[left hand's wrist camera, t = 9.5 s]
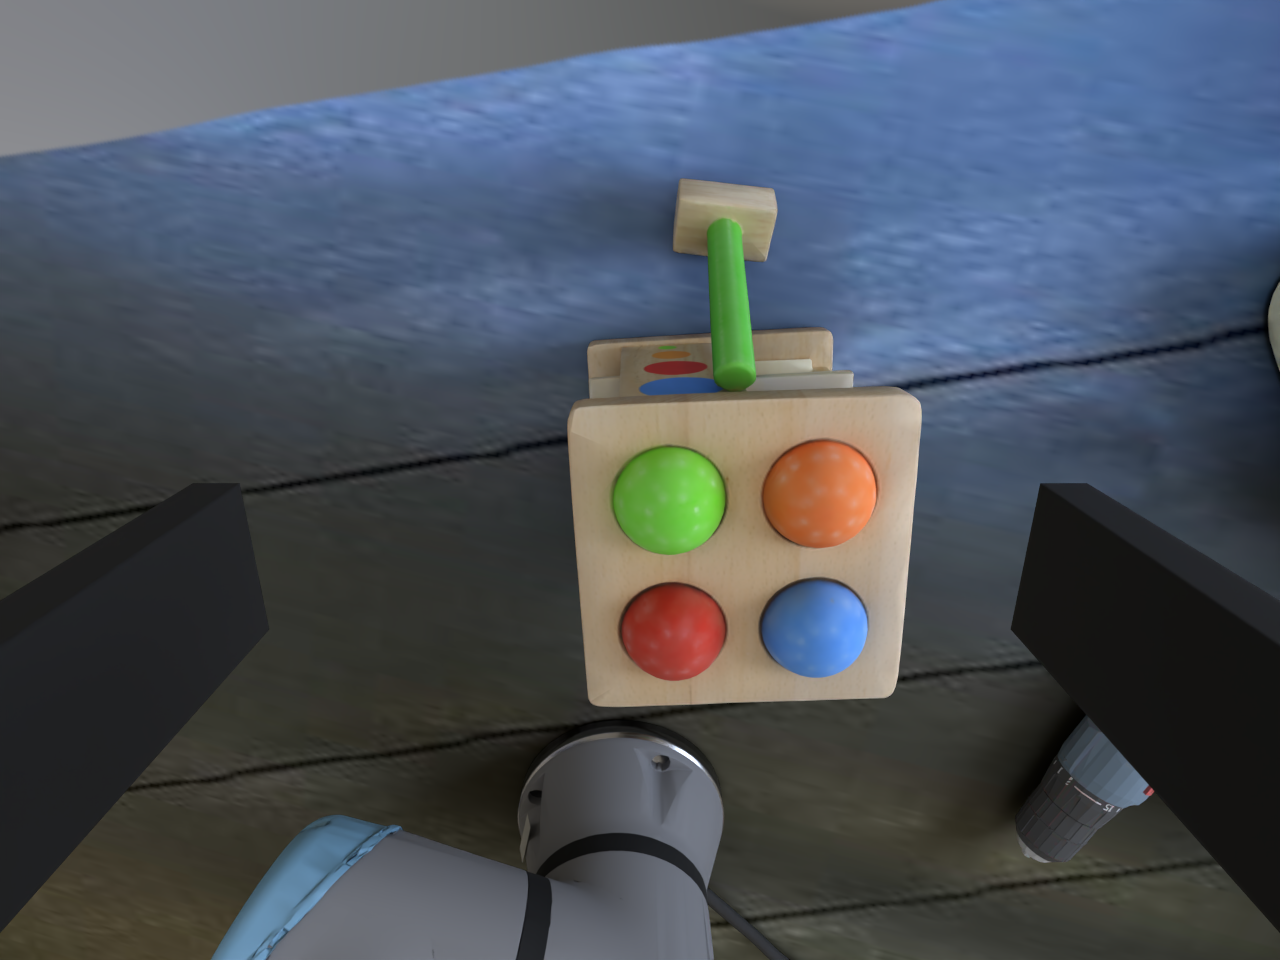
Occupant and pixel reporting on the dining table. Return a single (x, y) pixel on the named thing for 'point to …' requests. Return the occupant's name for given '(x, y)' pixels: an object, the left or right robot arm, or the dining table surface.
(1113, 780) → the power drill
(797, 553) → the pounding bench toy
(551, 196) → the dining table surface
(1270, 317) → the boat shoe
